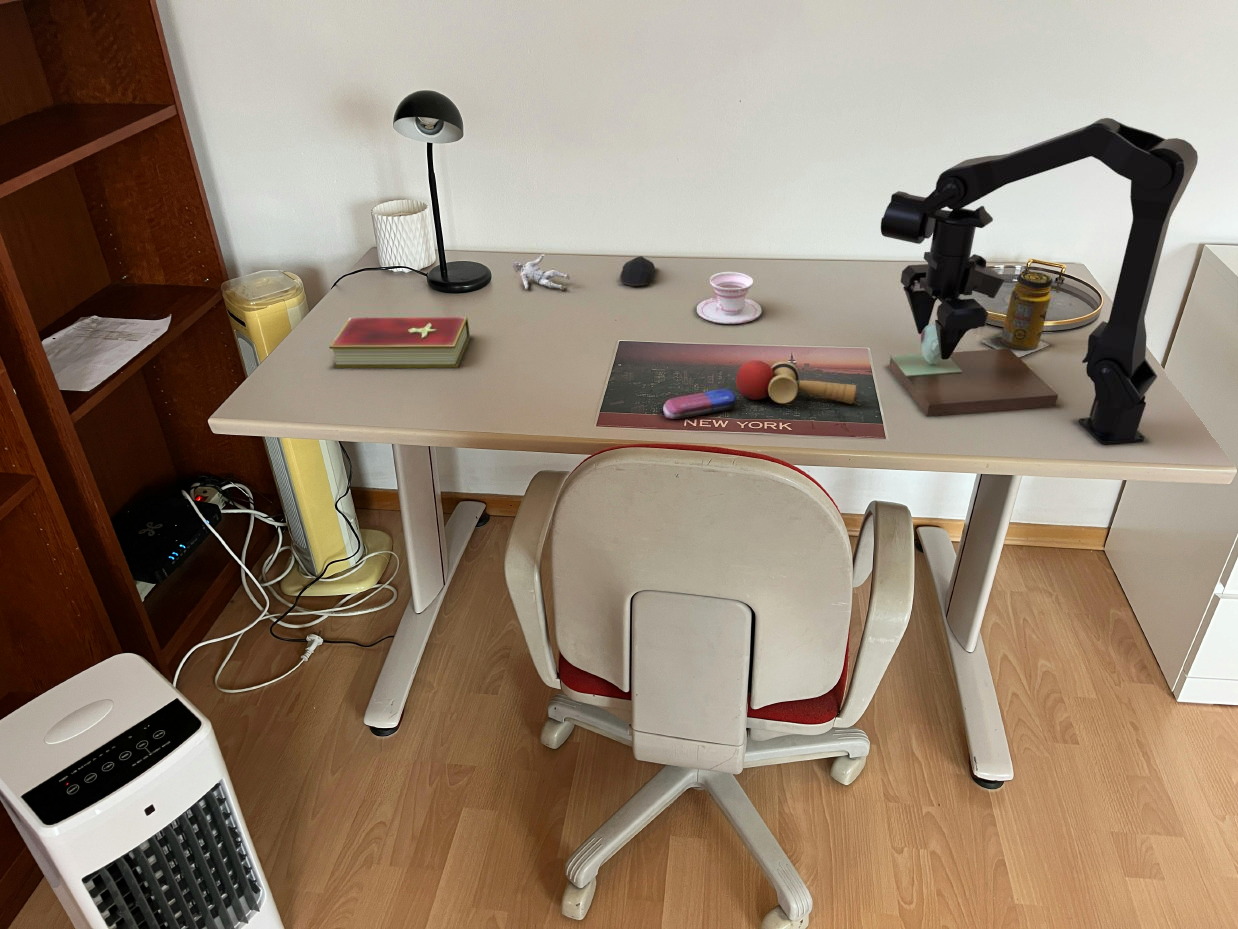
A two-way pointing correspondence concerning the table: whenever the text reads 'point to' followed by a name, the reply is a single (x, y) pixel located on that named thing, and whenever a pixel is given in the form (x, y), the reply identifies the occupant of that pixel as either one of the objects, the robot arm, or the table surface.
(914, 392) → the walnut board
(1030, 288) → the condiment
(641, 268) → the gaming mouse
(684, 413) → the eraser
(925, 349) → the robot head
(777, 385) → the kendama
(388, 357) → the hardcover book
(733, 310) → the teacup
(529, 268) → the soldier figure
